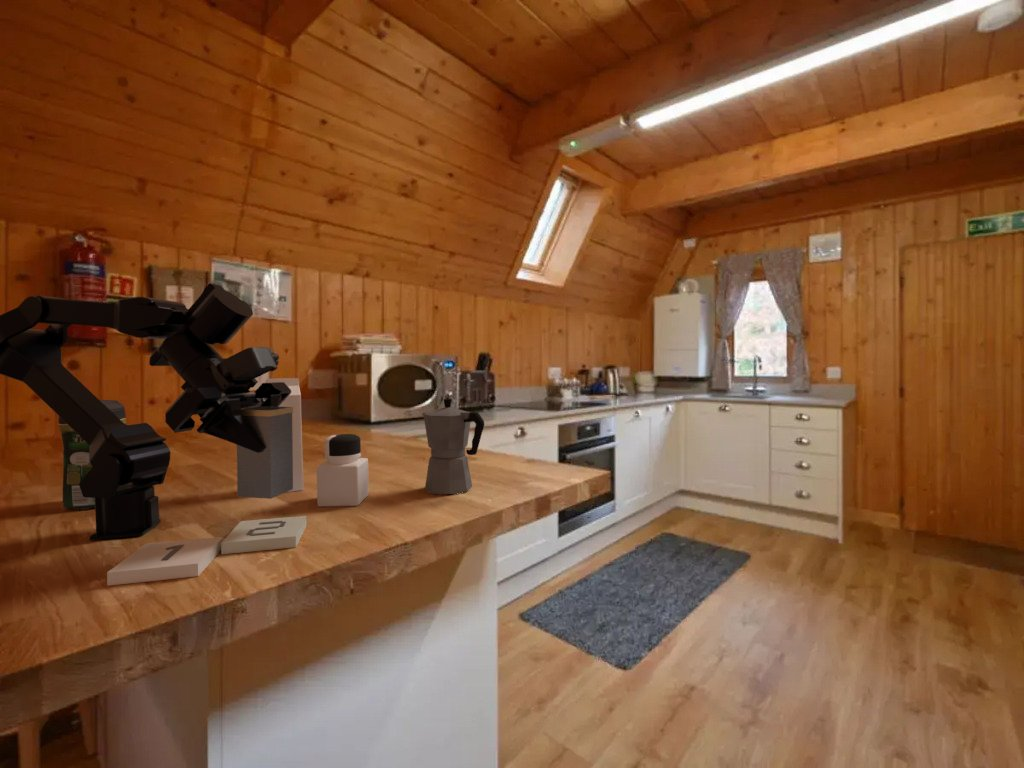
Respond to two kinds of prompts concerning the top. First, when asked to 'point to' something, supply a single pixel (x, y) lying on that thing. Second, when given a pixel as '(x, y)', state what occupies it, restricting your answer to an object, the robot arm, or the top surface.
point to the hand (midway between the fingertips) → (274, 446)
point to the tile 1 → (165, 561)
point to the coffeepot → (450, 448)
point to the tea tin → (267, 454)
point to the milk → (294, 428)
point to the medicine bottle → (342, 472)
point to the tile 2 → (264, 535)
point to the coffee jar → (79, 460)
